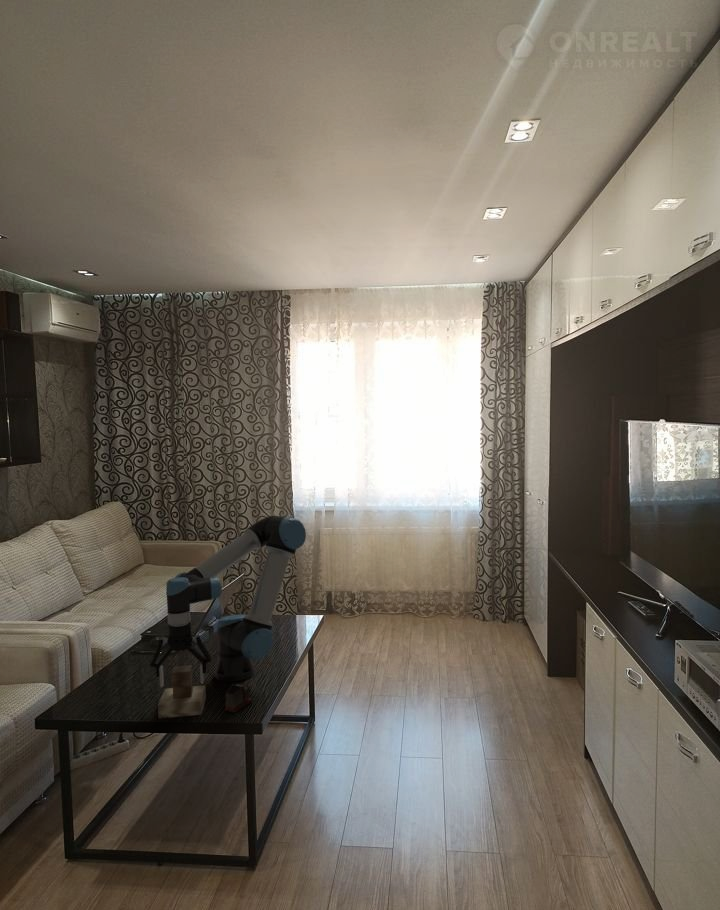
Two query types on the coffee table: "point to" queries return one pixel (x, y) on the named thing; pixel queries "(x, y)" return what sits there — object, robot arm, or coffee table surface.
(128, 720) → the coffee table surface
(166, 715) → the oak block
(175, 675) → the walnut block
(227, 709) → the electronic device
